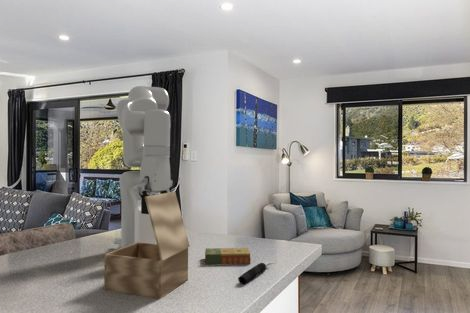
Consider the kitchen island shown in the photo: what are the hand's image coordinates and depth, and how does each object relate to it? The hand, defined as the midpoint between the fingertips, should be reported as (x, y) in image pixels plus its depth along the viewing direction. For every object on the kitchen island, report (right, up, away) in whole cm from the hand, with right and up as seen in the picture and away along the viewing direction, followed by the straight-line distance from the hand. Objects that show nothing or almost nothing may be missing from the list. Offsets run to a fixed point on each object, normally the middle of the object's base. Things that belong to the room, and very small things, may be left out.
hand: (156, 211), depth 108 cm
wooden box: (-3, -22, +1) cm, 22 cm away
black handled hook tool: (+30, -23, +11) cm, 39 cm away
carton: (+20, -23, +26) cm, 40 cm away
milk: (-9, -22, +24) cm, 34 cm away
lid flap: (+4, -3, -1) cm, 5 cm away
